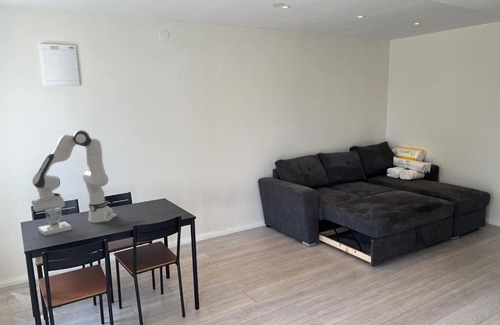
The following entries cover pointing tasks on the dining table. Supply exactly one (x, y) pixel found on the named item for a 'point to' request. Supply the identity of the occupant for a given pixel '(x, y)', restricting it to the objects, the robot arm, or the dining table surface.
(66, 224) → the switch panel
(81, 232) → the dining table surface
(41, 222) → the dining table surface
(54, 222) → the breaker lever
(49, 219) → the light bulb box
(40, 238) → the dining table surface
